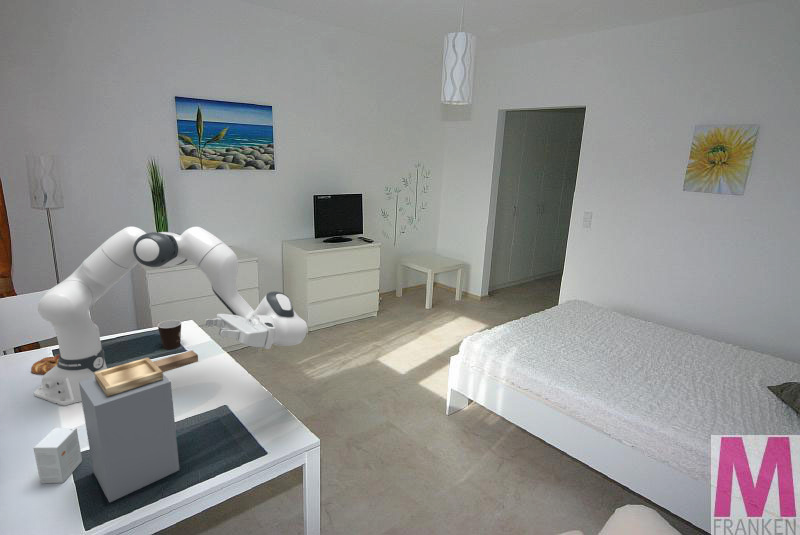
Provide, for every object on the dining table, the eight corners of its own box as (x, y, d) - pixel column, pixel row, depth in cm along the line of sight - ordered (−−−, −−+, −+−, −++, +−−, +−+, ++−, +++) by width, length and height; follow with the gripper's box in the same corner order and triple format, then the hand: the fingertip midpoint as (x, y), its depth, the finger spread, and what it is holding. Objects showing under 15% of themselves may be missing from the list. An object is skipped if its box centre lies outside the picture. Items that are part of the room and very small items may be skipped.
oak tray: (188, 352, 124) (187, 346, 123) (203, 365, 117) (203, 359, 117) (95, 379, 108) (94, 372, 108) (107, 396, 102) (106, 388, 101)
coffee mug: (173, 352, 179) (171, 329, 176) (155, 349, 181) (152, 326, 178) (192, 340, 190) (190, 318, 187) (174, 337, 192) (172, 316, 189)
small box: (60, 461, 118) (54, 427, 115) (83, 461, 118) (77, 427, 115) (39, 484, 110) (32, 447, 107) (63, 483, 110) (56, 447, 108)
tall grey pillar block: (159, 444, 126) (150, 361, 119) (179, 470, 117) (170, 381, 110) (93, 472, 115) (78, 381, 108) (109, 502, 105) (94, 406, 98)
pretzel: (30, 379, 155) (28, 370, 154) (32, 366, 164) (30, 357, 163) (73, 370, 162) (71, 361, 161) (72, 358, 171) (71, 350, 170)
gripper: (244, 310, 140) (200, 306, 129) (278, 329, 125) (231, 327, 115) (240, 329, 140) (195, 327, 130) (272, 351, 126) (225, 350, 116)
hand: (212, 327), depth 122 cm, fingers open, 8 cm apart
